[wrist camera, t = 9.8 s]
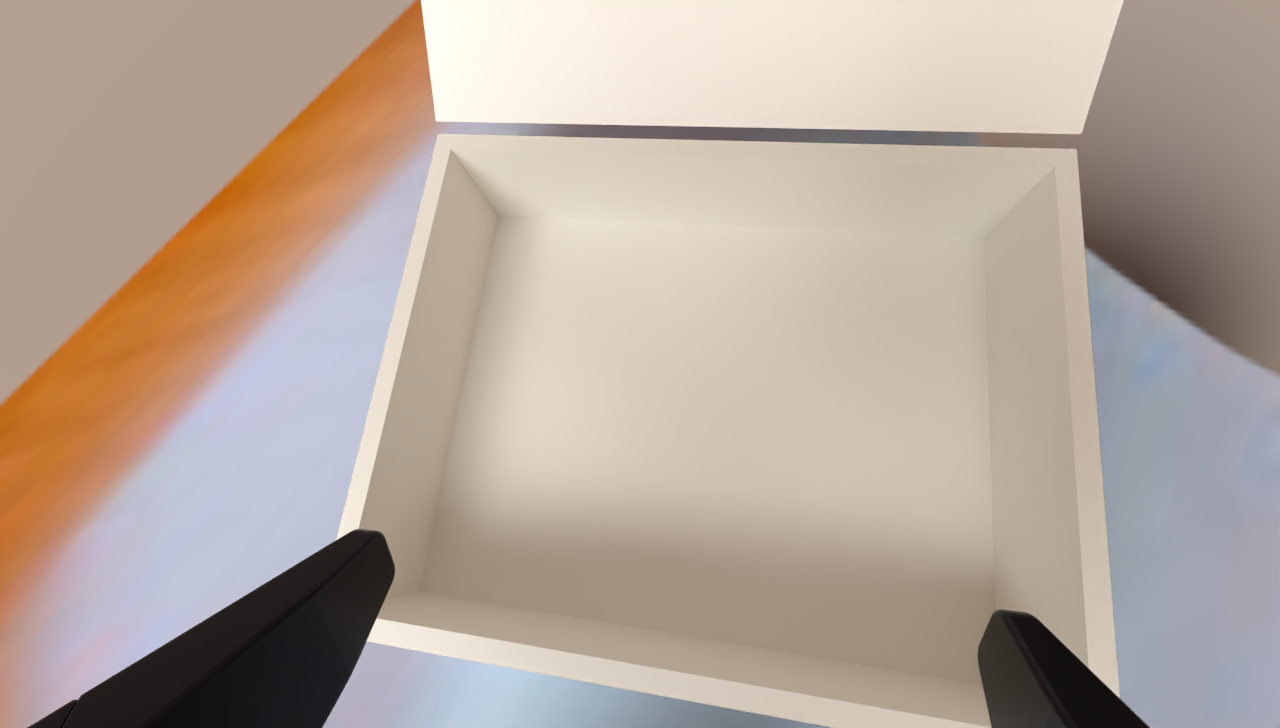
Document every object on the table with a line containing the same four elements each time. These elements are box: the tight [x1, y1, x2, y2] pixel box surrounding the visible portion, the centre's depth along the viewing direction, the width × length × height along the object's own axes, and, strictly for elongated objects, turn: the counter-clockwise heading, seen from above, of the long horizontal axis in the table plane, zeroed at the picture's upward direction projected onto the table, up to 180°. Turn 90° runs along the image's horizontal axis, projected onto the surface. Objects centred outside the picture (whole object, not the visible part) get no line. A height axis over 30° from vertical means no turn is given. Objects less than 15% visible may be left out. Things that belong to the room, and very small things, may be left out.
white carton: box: [336, 134, 1120, 728], centre depth 18 cm, size 16×20×5 cm
